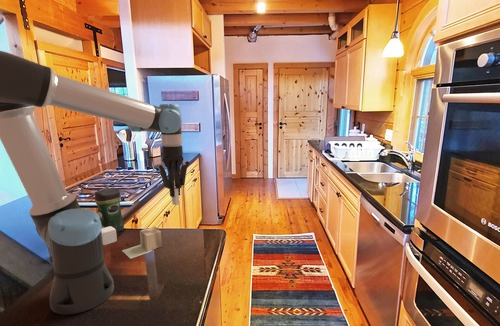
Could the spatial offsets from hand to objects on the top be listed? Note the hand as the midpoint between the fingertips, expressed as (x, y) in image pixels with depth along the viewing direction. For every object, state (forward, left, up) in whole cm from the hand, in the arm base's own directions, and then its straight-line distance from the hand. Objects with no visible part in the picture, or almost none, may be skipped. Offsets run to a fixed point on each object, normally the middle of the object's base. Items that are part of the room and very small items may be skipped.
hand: (175, 204), depth 110 cm
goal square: (0, +16, -14) cm, 22 cm away
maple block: (0, +8, -11) cm, 14 cm away
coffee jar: (+25, +17, -14) cm, 34 cm away
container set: (+15, +29, -15) cm, 36 cm away
